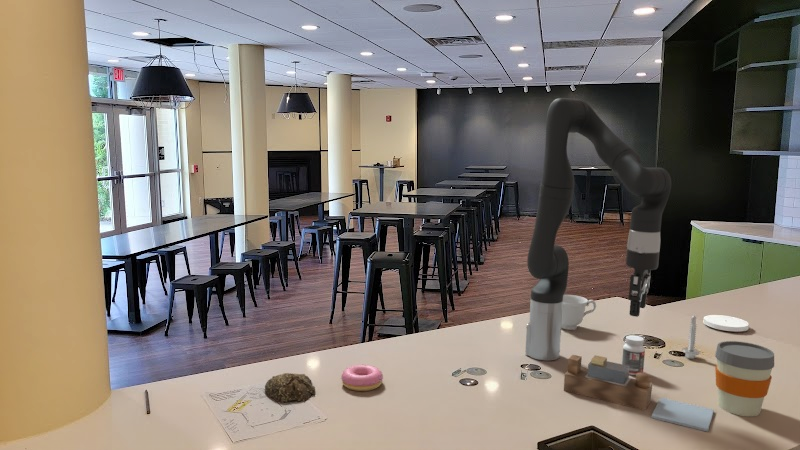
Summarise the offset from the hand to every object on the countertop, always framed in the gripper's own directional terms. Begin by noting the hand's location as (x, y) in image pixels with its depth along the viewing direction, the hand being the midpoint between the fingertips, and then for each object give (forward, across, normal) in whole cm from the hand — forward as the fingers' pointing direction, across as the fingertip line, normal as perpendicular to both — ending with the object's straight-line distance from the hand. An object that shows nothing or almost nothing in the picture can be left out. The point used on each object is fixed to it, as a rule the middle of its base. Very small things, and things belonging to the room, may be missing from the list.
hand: (637, 311), depth 156 cm
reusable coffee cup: (+22, -6, +24) cm, 33 cm away
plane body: (+22, +5, -5) cm, 23 cm away
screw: (+22, -37, +10) cm, 44 cm away
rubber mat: (+22, +6, +13) cm, 26 cm away
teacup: (+22, -46, -28) cm, 58 cm away
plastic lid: (+22, -77, +17) cm, 82 cm away
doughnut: (+23, +33, -61) cm, 73 cm away
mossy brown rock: (+23, +47, -73) cm, 90 cm away
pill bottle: (+22, -15, -2) cm, 27 cm away
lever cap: (+17, +5, -5) cm, 18 cm away
